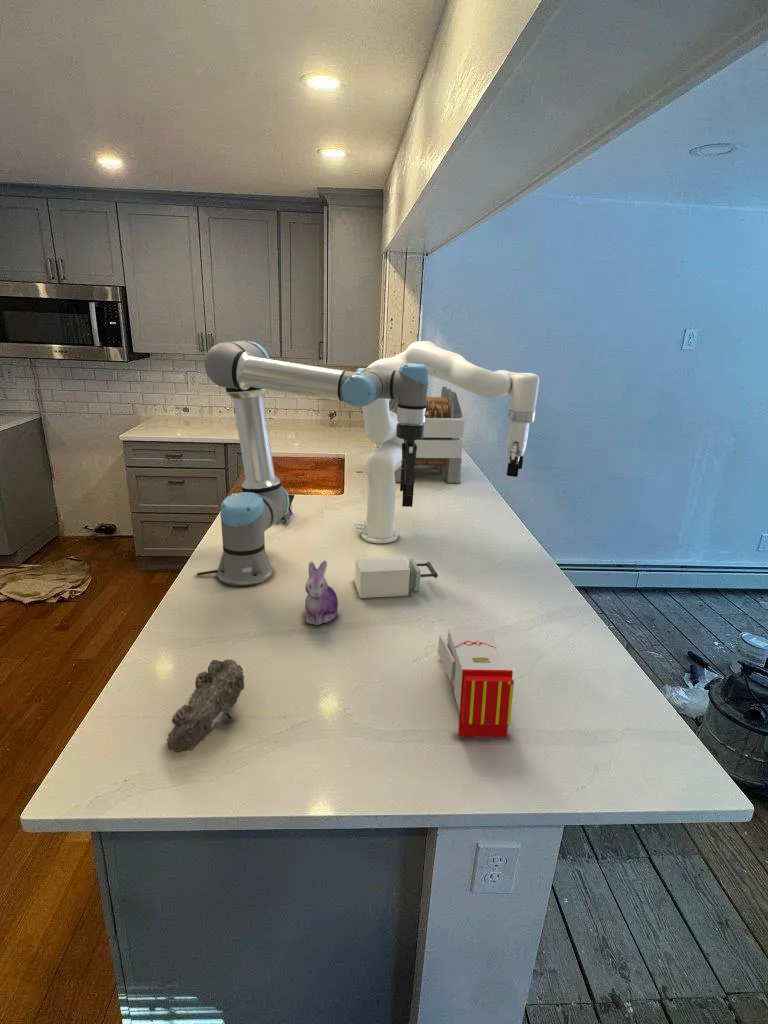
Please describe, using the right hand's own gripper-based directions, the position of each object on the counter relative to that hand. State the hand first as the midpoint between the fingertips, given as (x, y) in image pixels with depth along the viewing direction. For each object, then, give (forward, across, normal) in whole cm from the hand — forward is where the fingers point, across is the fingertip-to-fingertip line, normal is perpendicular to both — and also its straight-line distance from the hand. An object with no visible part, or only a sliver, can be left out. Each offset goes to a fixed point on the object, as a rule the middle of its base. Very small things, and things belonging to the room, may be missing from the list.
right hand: (514, 472), depth 173 cm
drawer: (+29, +32, -24) cm, 49 cm away
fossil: (+29, +98, -40) cm, 110 cm away
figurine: (+29, +56, -38) cm, 74 cm away
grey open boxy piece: (+29, -85, -54) cm, 105 cm away
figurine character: (+29, -1, -81) cm, 86 cm away
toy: (+29, +71, +4) cm, 77 cm away
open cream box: (+29, +35, -29) cm, 54 cm away
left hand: (+5, +26, -26) cm, 37 cm away
